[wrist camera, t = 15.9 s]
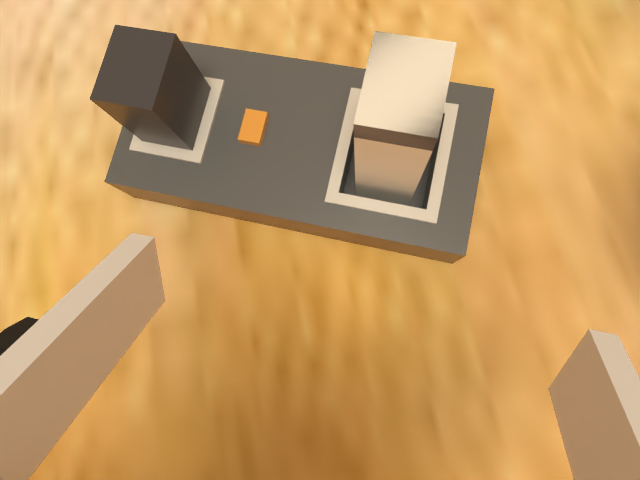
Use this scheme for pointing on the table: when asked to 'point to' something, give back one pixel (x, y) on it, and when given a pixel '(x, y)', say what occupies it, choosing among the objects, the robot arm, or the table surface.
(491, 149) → the table surface
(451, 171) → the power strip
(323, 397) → the table surface
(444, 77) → the plug
